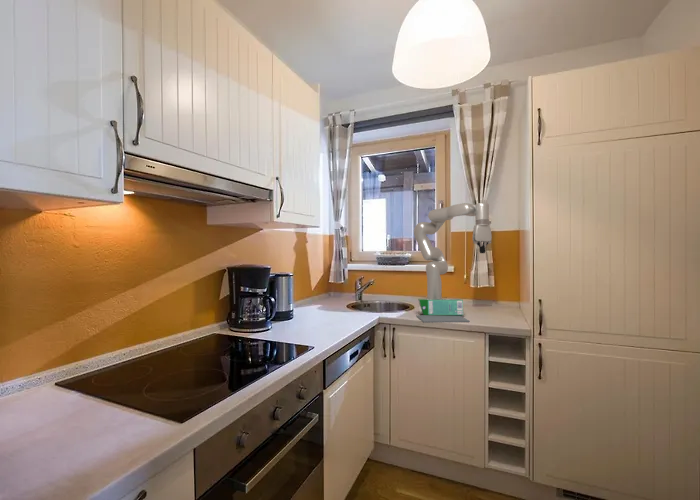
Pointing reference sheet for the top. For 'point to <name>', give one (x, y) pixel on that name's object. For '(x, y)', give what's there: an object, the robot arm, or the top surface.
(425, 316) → the mat
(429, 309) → the milk carton
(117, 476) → the top surface
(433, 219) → the robot arm
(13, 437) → the top surface
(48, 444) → the top surface
